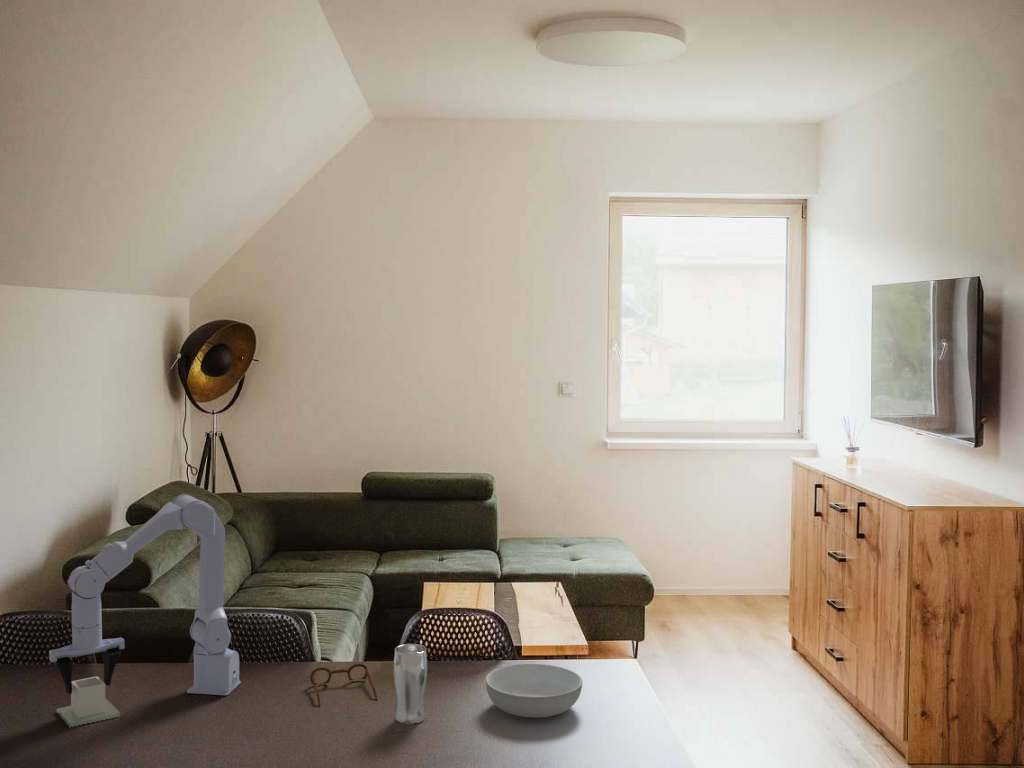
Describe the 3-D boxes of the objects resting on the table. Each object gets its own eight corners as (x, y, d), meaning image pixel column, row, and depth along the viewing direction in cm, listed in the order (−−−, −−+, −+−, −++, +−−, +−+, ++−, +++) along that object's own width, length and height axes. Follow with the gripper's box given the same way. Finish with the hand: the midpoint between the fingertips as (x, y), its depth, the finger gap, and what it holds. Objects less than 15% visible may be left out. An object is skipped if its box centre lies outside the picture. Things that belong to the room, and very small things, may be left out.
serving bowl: (601, 709, 219) (602, 678, 218) (537, 738, 203) (537, 705, 203) (530, 685, 233) (530, 655, 232) (464, 710, 218) (465, 678, 217)
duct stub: (105, 701, 219) (105, 682, 219) (120, 716, 212) (120, 696, 211) (56, 712, 213) (56, 692, 213) (69, 728, 205) (69, 707, 205)
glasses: (367, 682, 234) (367, 661, 234) (378, 702, 222) (378, 680, 222) (309, 688, 230) (309, 666, 230) (318, 709, 218) (318, 686, 217)
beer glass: (421, 727, 208) (421, 655, 207) (389, 723, 209) (389, 652, 208) (430, 714, 215) (431, 644, 214) (399, 711, 216) (399, 642, 215)
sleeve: (105, 711, 212) (105, 683, 212) (78, 717, 209) (77, 689, 208) (97, 703, 216) (97, 676, 216) (71, 709, 213) (70, 681, 212)
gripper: (116, 613, 219) (117, 675, 220) (44, 626, 210) (46, 690, 211) (127, 621, 213) (128, 684, 214) (53, 634, 204) (55, 700, 205)
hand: (88, 688), depth 212 cm, fingers open, 7 cm apart
